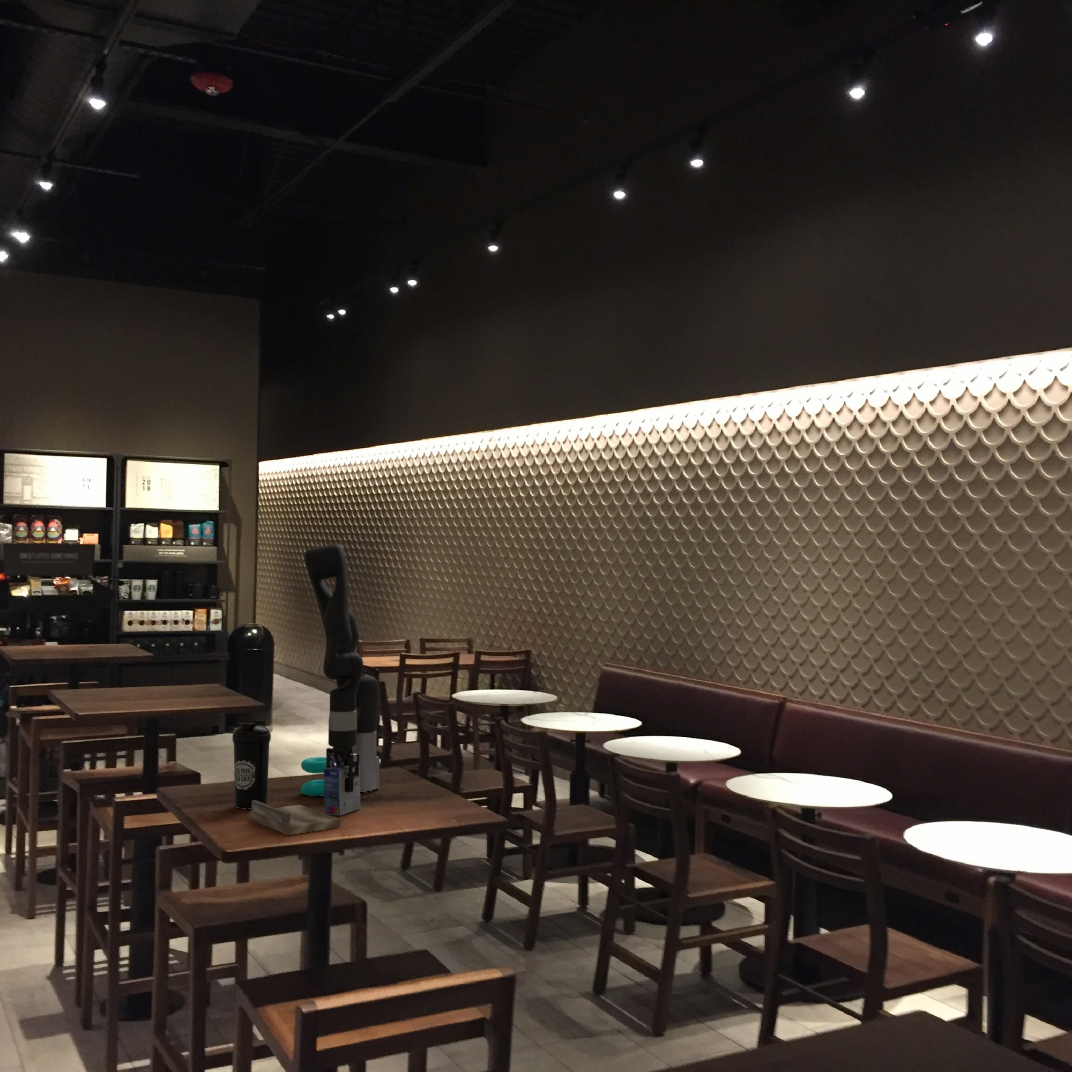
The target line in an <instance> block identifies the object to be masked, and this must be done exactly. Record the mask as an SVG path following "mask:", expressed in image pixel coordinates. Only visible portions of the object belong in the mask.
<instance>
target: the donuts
mask: <svg viewBox="0 0 1072 1072" xmlns="http://www.w3.org/2000/svg"><path fill="white" fill-rule="evenodd" d="M330 763H331V761H330ZM330 766H331V765H330ZM300 767H301V769H302V770H303V771H304V772H306V773H309V774H324V769H326V756H317V757H308V758H305V759H303V760H302V761H301V763H300ZM300 793H301V794H302V793H303V794H306V795H312V796H320V795H324V779H316V780H315V779H313V780H309V781H307V782H305V783H303V784H302V786H301V787H300ZM303 794H302V795H303ZM306 795H305V796H306Z"/></svg>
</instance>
